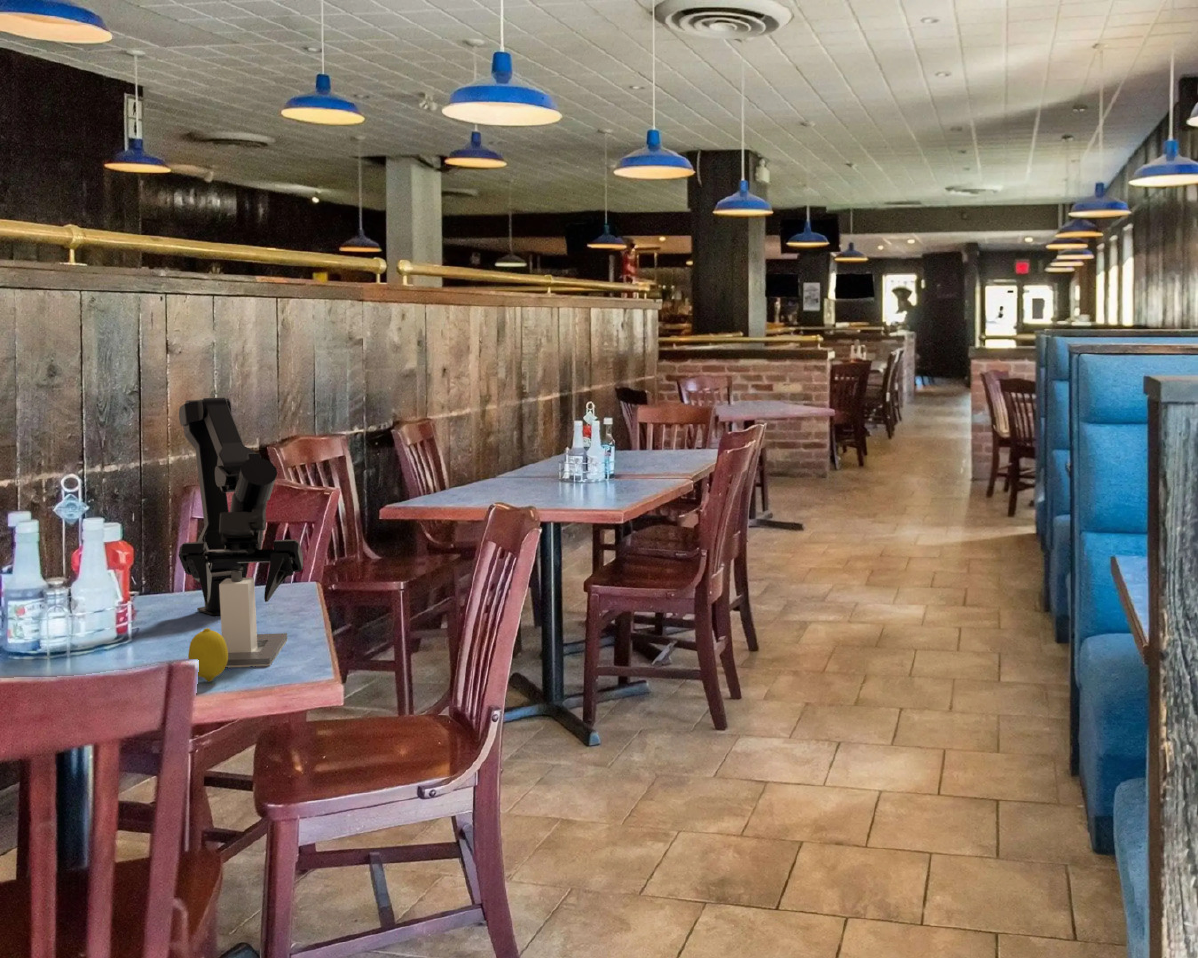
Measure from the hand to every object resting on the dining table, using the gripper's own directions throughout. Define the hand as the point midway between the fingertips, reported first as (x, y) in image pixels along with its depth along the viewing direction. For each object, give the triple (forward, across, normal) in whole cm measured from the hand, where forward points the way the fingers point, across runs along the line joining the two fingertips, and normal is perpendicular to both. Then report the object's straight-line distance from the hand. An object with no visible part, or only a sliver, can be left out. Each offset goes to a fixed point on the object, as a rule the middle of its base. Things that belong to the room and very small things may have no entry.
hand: (236, 601), depth 194 cm
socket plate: (+5, 0, +7) cm, 9 cm away
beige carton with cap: (+5, 0, +7) cm, 9 cm away
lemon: (+16, -1, -4) cm, 17 cm away
